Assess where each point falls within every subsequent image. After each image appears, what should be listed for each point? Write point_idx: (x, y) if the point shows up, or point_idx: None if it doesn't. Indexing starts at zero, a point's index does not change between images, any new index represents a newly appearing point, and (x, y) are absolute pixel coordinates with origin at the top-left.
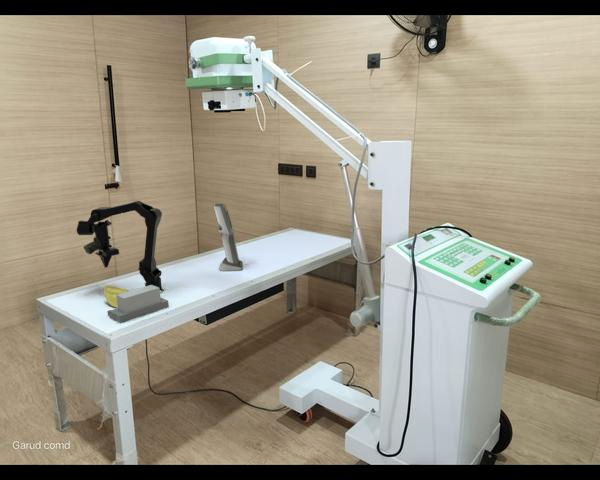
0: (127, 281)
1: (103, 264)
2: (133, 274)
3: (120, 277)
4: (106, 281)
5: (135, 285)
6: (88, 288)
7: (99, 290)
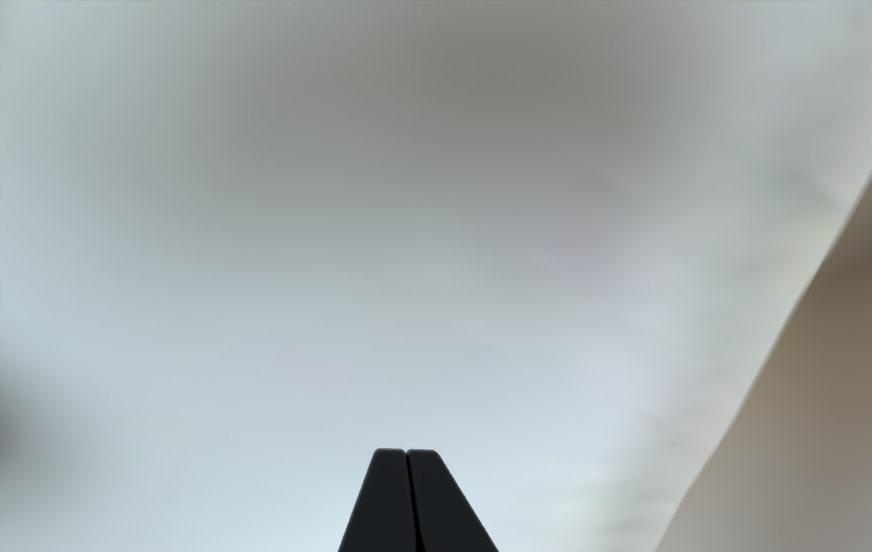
0: (509, 433)
1: (466, 529)
2: (633, 541)
3: (699, 453)
4: (768, 321)
5: (288, 415)
6: (835, 20)
7: (569, 60)
